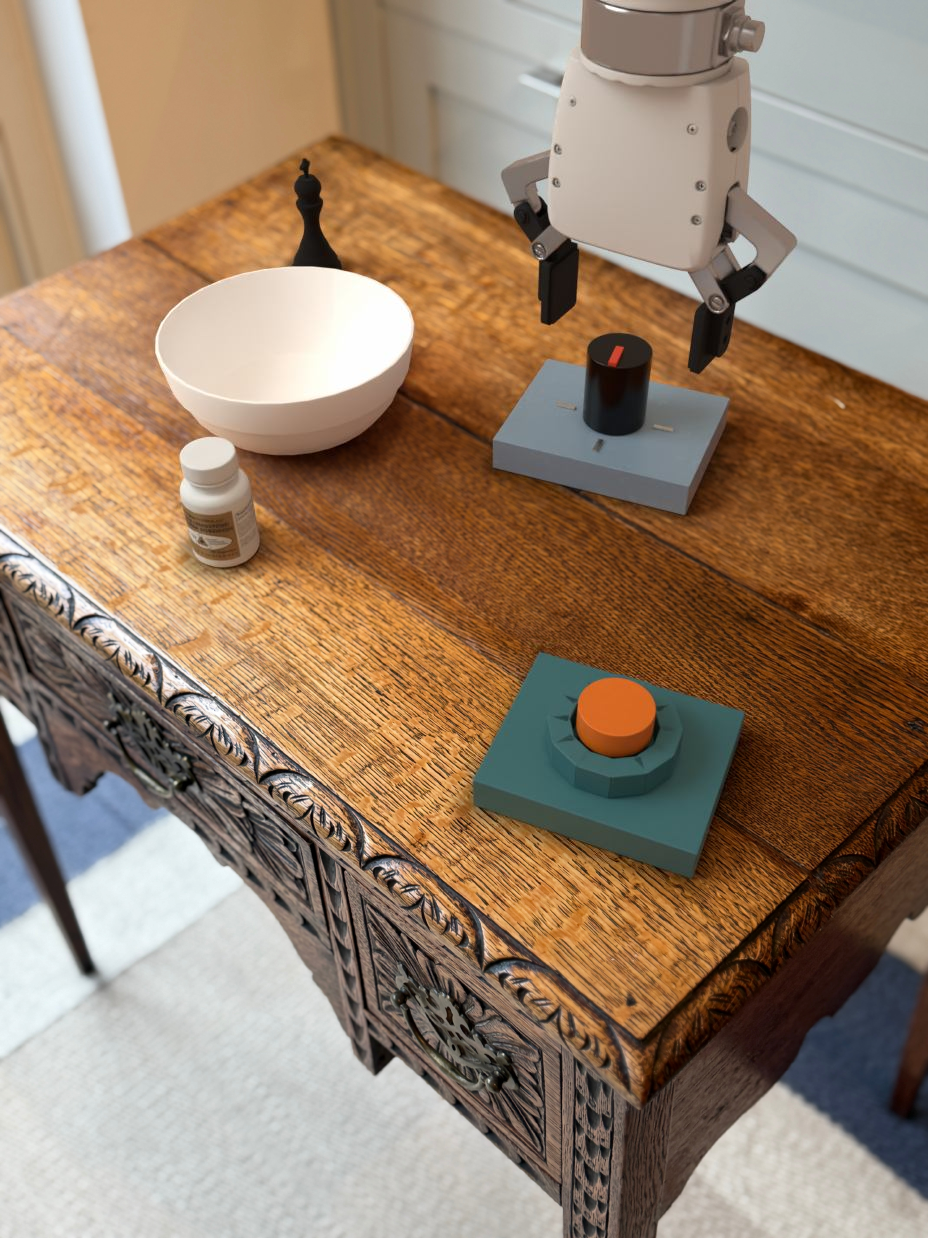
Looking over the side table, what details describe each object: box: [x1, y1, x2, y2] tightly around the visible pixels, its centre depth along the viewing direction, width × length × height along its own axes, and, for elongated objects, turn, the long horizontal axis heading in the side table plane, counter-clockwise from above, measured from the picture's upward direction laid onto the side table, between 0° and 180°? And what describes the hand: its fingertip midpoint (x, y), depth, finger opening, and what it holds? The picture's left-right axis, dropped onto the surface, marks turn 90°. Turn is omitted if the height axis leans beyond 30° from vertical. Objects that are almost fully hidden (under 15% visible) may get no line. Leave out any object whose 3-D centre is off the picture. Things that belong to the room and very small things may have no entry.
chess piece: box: [291, 157, 343, 270], centre depth 100 cm, size 4×4×10 cm
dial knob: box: [583, 332, 654, 436], centre depth 81 cm, size 4×4×6 cm
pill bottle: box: [179, 436, 261, 568], centre depth 75 cm, size 4×4×8 cm
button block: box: [472, 651, 746, 880], centre depth 63 cm, size 12×10×4 cm
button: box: [576, 678, 656, 757], centre depth 61 cm, size 4×4×2 cm
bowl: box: [154, 266, 416, 456], centre depth 86 cm, size 18×18×7 cm
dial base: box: [492, 358, 731, 516], centre depth 84 cm, size 14×11×3 cm
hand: (629, 337), depth 69 cm, fingers open, 9 cm apart
